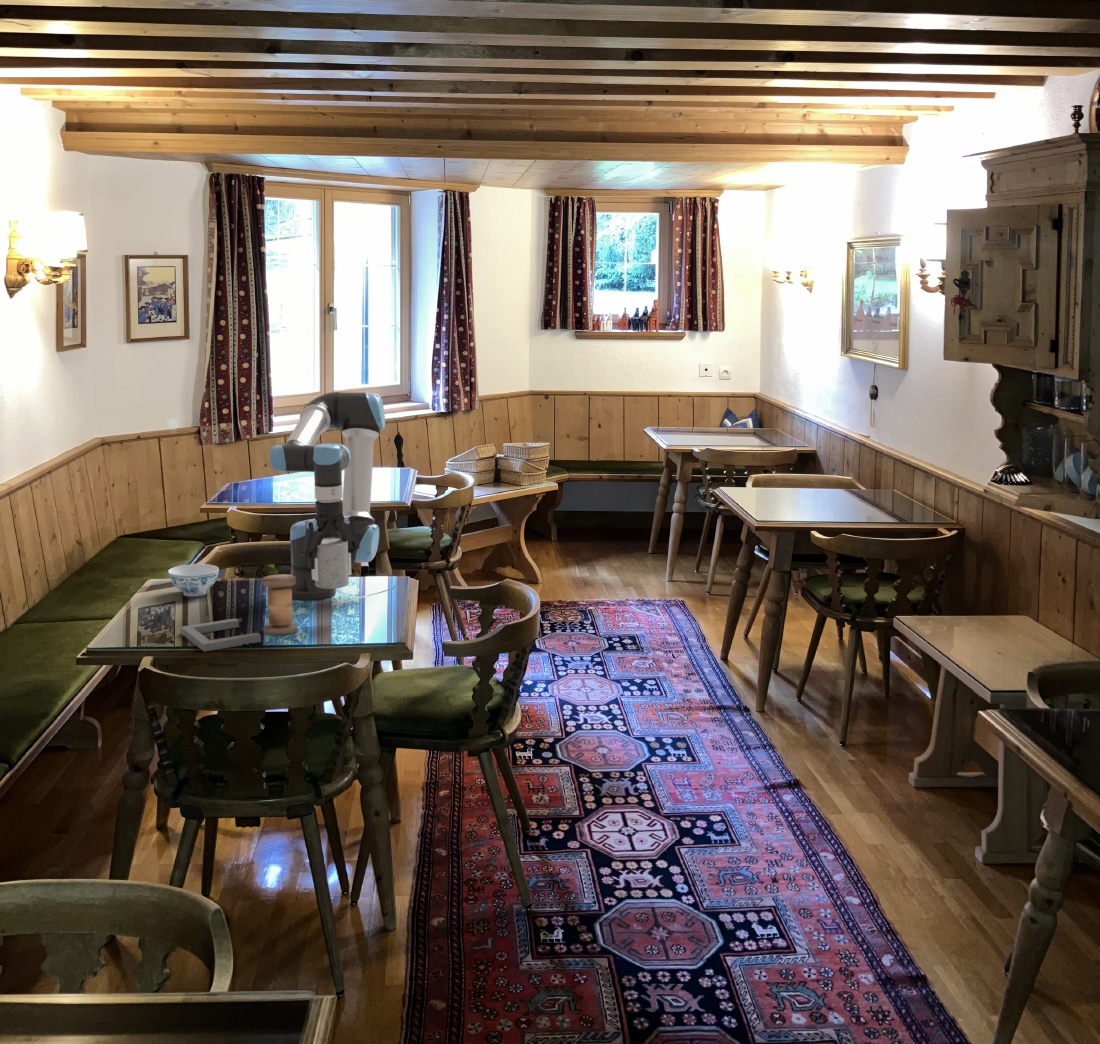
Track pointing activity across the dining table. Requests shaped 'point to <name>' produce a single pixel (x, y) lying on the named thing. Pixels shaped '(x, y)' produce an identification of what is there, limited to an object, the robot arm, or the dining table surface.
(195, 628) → the c-shaped bracket
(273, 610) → the bobbin
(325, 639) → the dining table surface
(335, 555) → the white scuffed cylinder
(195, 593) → the chinaware
